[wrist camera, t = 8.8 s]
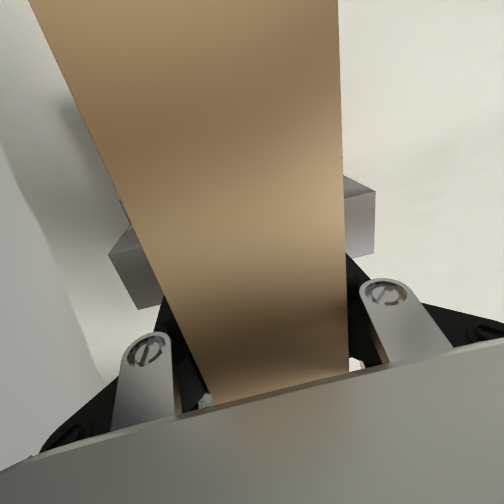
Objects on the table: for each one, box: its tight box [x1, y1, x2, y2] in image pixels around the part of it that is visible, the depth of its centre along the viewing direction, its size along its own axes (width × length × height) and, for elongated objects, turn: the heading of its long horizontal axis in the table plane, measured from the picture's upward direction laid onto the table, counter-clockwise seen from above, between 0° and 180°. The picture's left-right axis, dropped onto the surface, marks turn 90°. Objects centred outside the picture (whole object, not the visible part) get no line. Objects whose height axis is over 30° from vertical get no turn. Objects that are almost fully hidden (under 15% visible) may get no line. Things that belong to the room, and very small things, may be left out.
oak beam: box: [28, 0, 349, 405], centre depth 9 cm, size 22×4×5 cm, turn 12°
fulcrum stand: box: [108, 175, 376, 310], centre depth 17 cm, size 16×16×10 cm
